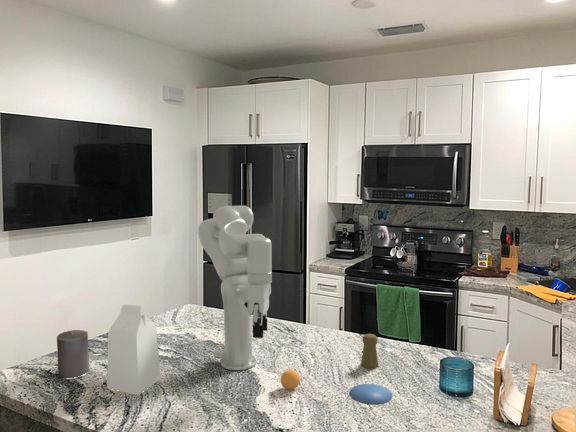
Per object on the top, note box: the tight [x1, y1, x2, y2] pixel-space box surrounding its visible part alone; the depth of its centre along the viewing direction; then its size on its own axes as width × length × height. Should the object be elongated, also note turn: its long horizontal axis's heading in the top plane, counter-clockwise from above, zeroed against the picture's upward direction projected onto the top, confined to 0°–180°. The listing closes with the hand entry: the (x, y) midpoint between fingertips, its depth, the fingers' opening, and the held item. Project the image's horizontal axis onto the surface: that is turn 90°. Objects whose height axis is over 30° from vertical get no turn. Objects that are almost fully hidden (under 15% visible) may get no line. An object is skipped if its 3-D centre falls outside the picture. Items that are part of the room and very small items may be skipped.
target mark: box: [349, 383, 393, 405], centre depth 151 cm, size 13×13×1 cm
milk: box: [106, 303, 162, 395], centre depth 157 cm, size 12×12×26 cm
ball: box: [280, 369, 301, 391], centre depth 155 cm, size 6×6×6 cm
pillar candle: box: [56, 329, 90, 379], centre depth 166 cm, size 10×10×15 cm
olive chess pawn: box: [360, 333, 379, 370], centre depth 172 cm, size 6×6×11 cm
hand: (260, 333), depth 154 cm, fingers open, 5 cm apart
